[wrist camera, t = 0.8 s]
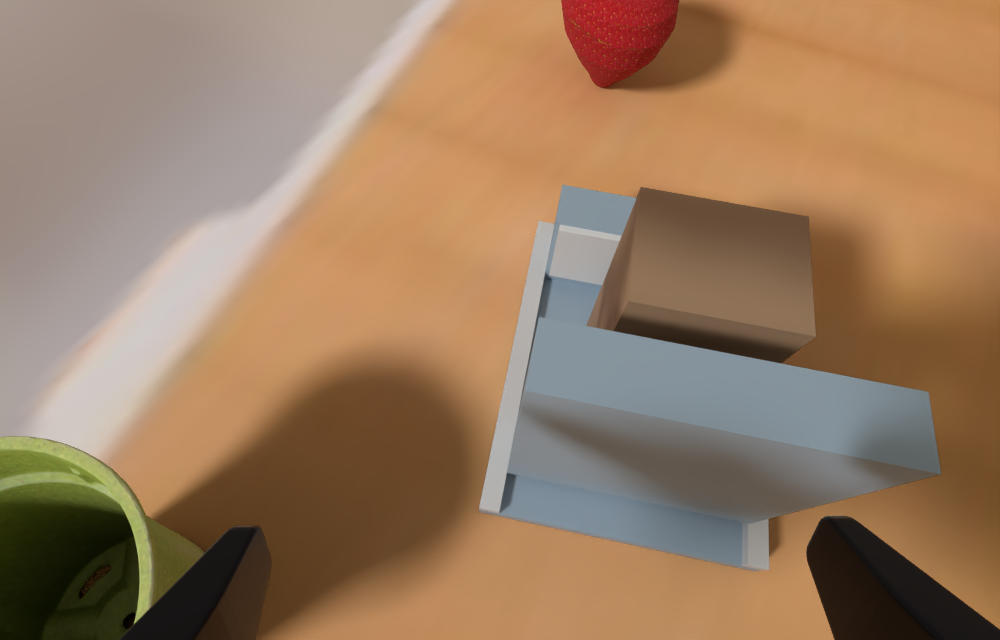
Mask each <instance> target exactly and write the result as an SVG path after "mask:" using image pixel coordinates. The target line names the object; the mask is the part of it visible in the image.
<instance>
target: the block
mask: <svg viewBox="0 0 1000 640" xmlns="http://www.w3.org/2000/svg"><path fill="white" fill-rule="evenodd" d="M586 326H589V327H594V328H599V329H604V330H610V331H615V332H620V333H625V334H630V335H636V336H641V337H646V338H651V339H656V340H662V341H667V342H672V343H677V344H682V345H688V346H693V347H698V348H703V349H708V350H713V351H719V352H724V353H729V354H734V355H739V356H745V357H750V358H755V359H760V360H765V361H771V362H776V363H782V362H783V361H785V360H786V359H787V358H789V357H790V356H791V355H792V354H794V353H795V352H796V351H798V350H799V349H800V348H802V347H803V346H804V345H806V344H807V343H808V342H810V341H811V340H812V339H813V338H815V337H816V330H815V313H814V297H813V281H812V265H811V249H810V233H809V217H807V216H801V215H796V214H790V213H784V212H779V211H773V210H767V209H762V208H756V207H750V206H745V205H739V204H733V203H728V202H722V201H716V200H711V199H705V198H699V197H694V196H688V195H682V194H677V193H671V192H666V191H660V190H654V189H649V188H643V187H641V188H640V191H639V193H638V196H637V198H636V201H635V204H634V206H633V209H632V211H631V214H630V216H629V219H628V221H627V224H626V226H625V229H624V231H623V234H622V236H621V239H620V241H619V244H618V246H617V249H616V252H615V254H614V257H613V259H612V262H611V264H610V267H609V269H608V272H607V274H606V277H605V279H604V282H603V284H602V287H601V289H600V292H599V294H598V297H597V300H596V302H595V305H594V307H593V310H592V312H591V315H590V317H589V320H588V322H587V325H586Z"/></svg>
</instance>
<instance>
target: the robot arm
mask: <svg viewBox="0 0 1000 640" xmlns="http://www.w3.org/2000/svg"><path fill="white" fill-rule="evenodd" d="M806 554H807V561H808V565H809V568H810V570H811V573H812V576H813V579H814V582H815V585H816V588H817V591H818V593H819V596H820V599H821V602H822V605H823V608H824V611H825V614H826V616H827V619H828V622H829V625H830V628H831V631H832V634H833V637H834V639H835V640H1000V629H998V628H997V627H996V626H994V625H993V624H992V623H990V622H989V621H988V620H986V619H985V618H984V617H983V616H981V615H980V614H979V613H977V612H976V611H975V610H973V609H972V608H971V607H969V606H968V605H967V604H965V603H964V602H963V601H962V600H960V599H959V598H958V597H956V596H955V595H954V594H952V593H951V592H950V591H948V590H947V589H946V588H944V587H943V586H942V585H940V584H939V583H938V582H937V581H935V580H934V579H933V578H931V577H930V576H929V575H927V574H926V573H925V572H923V571H922V570H921V569H919V568H918V567H917V566H915V565H914V564H913V563H912V562H910V561H909V560H908V559H906V558H905V557H904V556H902V555H901V554H900V553H898V552H897V551H896V550H894V549H893V548H892V547H890V546H889V545H888V544H887V543H885V542H884V541H883V540H881V539H880V538H879V537H877V536H876V535H875V534H873V533H872V532H871V531H869V530H868V529H867V528H865V527H864V526H863V525H862V524H860V523H859V522H858V521H856V520H855V519H853V518H851V517H848V516H826V517H824V518H822V519H821V520H820V522H819V523H818V526H817V528H816V530H815V532H814V534H813V536H812V538H811V540H810V542H809V544H808V546H807V551H806ZM270 572H271V556H270V552H269V549H268V546H267V543H266V540H265V537H264V534H263V531H262V529H261V528H260V527H259V526H258V525H237V526H233V527H231V528H230V529H228V530H227V531H226V532H225V533H224V534H223V535H222V536H221V537H220V538H219V539H218V540H217V541H216V542H215V543H214V544H213V545H212V546H211V547H210V548H209V549H208V550H207V551H206V552H205V553H204V554H203V555H202V556H201V557H200V558H199V559H198V560H197V561H196V562H195V563H194V564H193V565H192V566H191V567H190V568H189V569H188V570H187V571H186V572H185V573H184V574H183V575H182V576H181V577H180V578H179V579H178V580H177V581H176V582H175V583H174V584H173V585H172V586H171V587H170V588H169V589H168V590H167V591H166V592H165V593H164V594H163V595H162V596H161V597H160V598H159V599H158V600H157V601H156V602H155V603H154V604H153V605H152V606H151V607H150V608H149V609H148V610H147V611H146V612H145V613H144V614H143V616H142V617H141V618H140V619H139V620H138V621H137V622H136V623H135V624H134V625H133V626H132V627H131V628H130V629H129V630H128V631H127V632H126V633H125V634H124V635H123V636H122V637H121V638H120V639H119V640H256V636H257V632H258V627H259V623H260V618H261V613H262V609H263V604H264V600H265V595H266V591H267V586H268V581H269V577H270Z"/></svg>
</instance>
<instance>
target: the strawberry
mask: <svg viewBox="0 0 1000 640" xmlns="http://www.w3.org/2000/svg"><path fill="white" fill-rule="evenodd" d="M561 1H562V10H563V18H564V25H565V31H566V33H567V36H568V38H569V40H570V42H571V44H572V46H573V48H574V50H575V52H576V54H577V56H578V58H579V60H580V61H581V63H582V65H583V66H584V67H585V69H586V70H587V71H588V73H589V74H590V77H591V79H592V81H593V82H594V83H595V84H596V85H597V86H599V87H608V86H610V85H612V84H613V83H615V82H617V81H620V80H623V79H625V78H627V77H629V76H631V75H632V74H634V73H635V72H637V71H638V70H640V69H641V68H643V67H644V66H646V65H647V64H649V63H650V62H651V61H652V60H653V59H654V58H655V57H656V55H657V54H658V52H659V51H660V49H661V48H662V47H663V45H664V44H665V42H666V41H667V39H668V38H669V36H670V35H671V33H672V31H673V30H674V27H675V23H676V18H677V11H678V3H679V0H561Z"/></svg>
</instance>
